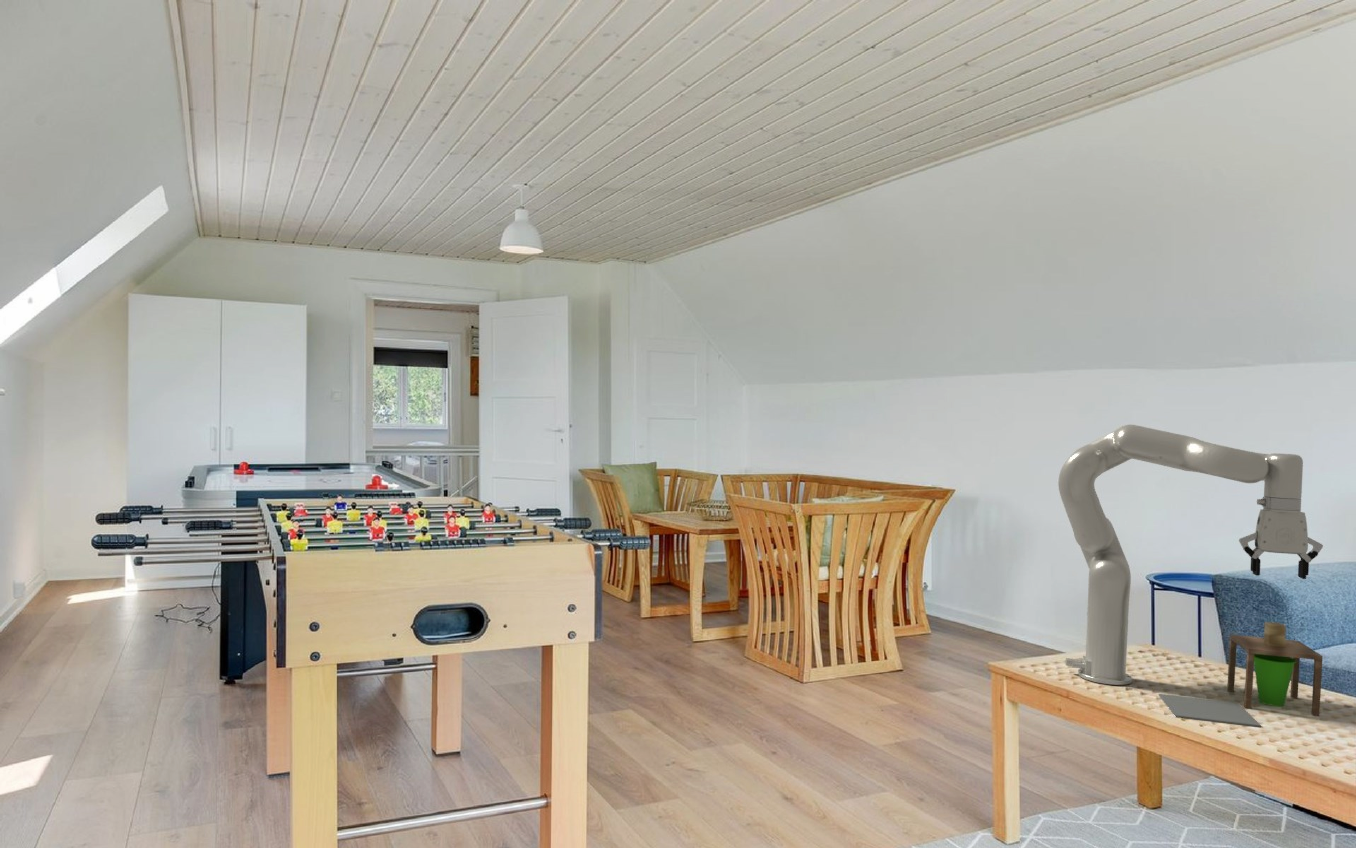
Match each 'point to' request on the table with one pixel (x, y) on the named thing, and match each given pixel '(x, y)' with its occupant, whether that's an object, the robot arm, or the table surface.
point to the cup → (1273, 677)
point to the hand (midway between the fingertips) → (1278, 576)
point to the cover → (1276, 647)
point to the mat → (1208, 710)
